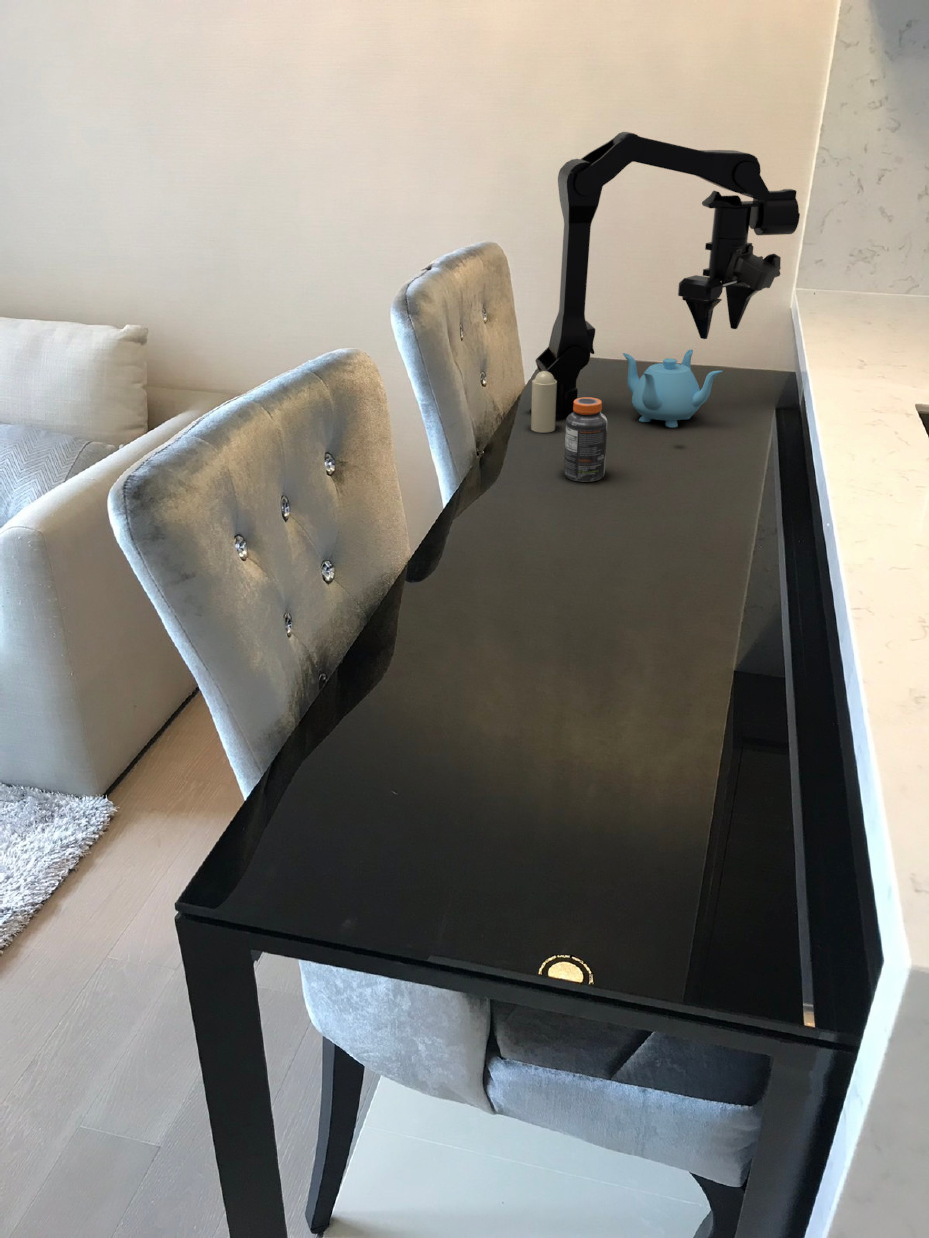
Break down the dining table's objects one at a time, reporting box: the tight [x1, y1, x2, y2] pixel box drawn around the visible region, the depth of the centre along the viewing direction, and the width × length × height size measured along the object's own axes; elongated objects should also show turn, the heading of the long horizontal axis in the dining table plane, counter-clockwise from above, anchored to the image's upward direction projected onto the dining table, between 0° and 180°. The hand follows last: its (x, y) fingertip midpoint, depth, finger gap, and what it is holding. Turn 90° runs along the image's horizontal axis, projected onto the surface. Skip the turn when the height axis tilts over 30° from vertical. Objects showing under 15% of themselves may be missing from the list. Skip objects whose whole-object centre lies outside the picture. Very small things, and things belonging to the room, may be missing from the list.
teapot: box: [622, 349, 724, 428], centre depth 167 cm, size 13×13×10 cm
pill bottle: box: [563, 396, 608, 483], centre depth 144 cm, size 6×6×11 cm
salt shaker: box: [530, 371, 557, 434], centre depth 163 cm, size 4×4×10 cm
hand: (719, 333), depth 170 cm, fingers open, 9 cm apart
